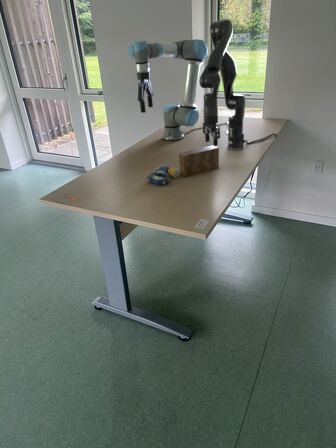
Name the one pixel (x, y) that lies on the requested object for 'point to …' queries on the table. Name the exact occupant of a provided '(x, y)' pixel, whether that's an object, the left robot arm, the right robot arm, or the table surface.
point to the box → (199, 160)
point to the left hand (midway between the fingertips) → (147, 109)
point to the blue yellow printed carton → (162, 175)
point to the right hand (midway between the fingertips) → (211, 143)
